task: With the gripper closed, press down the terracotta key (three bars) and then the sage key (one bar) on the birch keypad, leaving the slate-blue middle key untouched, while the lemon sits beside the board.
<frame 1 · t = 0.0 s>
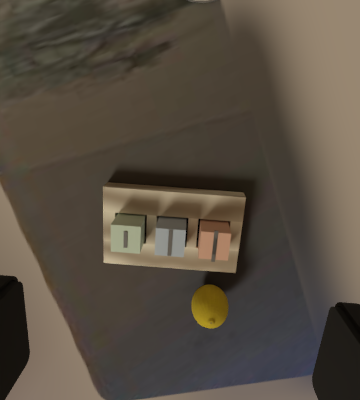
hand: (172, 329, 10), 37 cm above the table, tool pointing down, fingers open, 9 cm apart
key terracotta: (213, 239, 44), point 4 cm above the table, slide at 0.0 cm
key slate: (171, 236, 44), point 4 cm above the table, slide at 0.0 cm
key sage: (128, 232, 45), point 4 cm above the table, slide at 0.0 cm
keypad board: (172, 224, 48), on the table
lemon: (208, 289, 52), on the table
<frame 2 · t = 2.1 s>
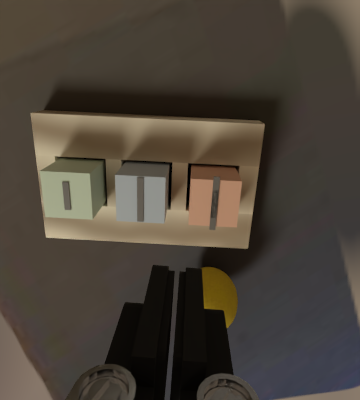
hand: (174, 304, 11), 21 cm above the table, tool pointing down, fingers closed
key terracotta: (212, 194, 27), point 4 cm above the table, slide at 0.0 cm
key slate: (144, 191, 28), point 4 cm above the table, slide at 0.0 cm
key sage: (75, 187, 28), point 4 cm above the table, slide at 0.0 cm
keypad board: (150, 177, 31), on the table
lemon: (207, 273, 35), on the table
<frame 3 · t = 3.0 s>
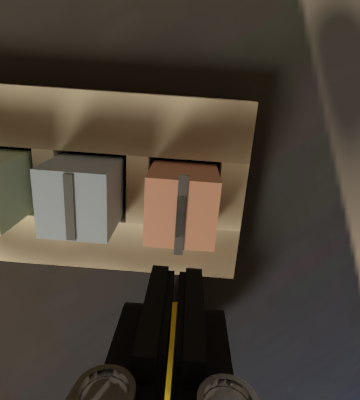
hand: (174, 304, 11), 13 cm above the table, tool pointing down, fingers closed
key terracotta: (182, 202, 19), point 4 cm above the table, slide at 0.0 cm
key slate: (82, 195, 19), point 4 cm above the table, slide at 0.0 cm
keypad board: (101, 177, 23), on the table
lemon: (180, 308, 27), on the table
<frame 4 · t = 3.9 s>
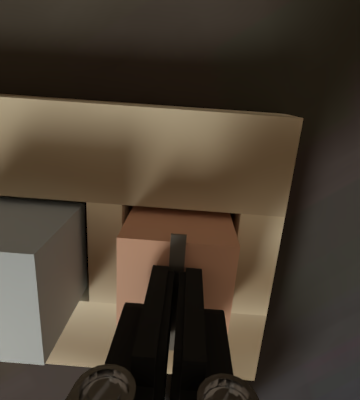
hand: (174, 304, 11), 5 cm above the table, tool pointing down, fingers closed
key terracotta: (177, 262, 13), point 3 cm above the table, slide at -1.5 cm, touching gripper
key slate: (12, 270, 12), point 4 cm above the table, slide at 0.0 cm
keypad board: (57, 226, 15), on the table
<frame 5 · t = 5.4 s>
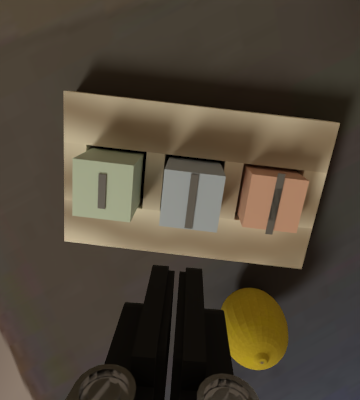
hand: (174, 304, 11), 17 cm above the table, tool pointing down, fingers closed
key terracotta: (268, 195, 25), point 2 cm above the table, slide at -1.6 cm
key slate: (191, 192, 23), point 4 cm above the table, slide at 0.0 cm
key sage: (110, 182, 23), point 4 cm above the table, slide at 0.0 cm
keypad board: (191, 178, 27), on the table
lemon: (244, 295, 31), on the table
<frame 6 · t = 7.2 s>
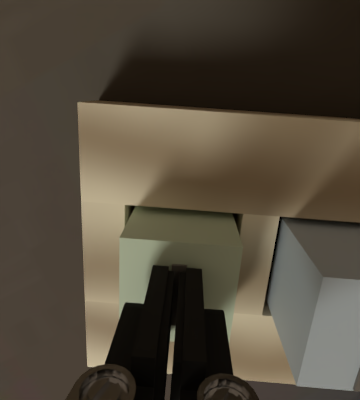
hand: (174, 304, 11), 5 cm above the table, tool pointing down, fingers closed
key slate: (344, 296, 11), point 4 cm above the table, slide at 0.0 cm
key sage: (179, 263, 13), point 3 cm above the table, slide at -1.4 cm, touching gripper
keypad board: (306, 245, 15), on the table
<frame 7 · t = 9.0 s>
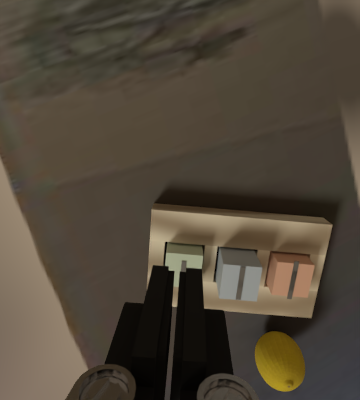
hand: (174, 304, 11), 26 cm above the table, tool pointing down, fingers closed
key terracotta: (286, 270, 36), point 2 cm above the table, slide at -1.6 cm
key slate: (237, 273, 35), point 4 cm above the table, slide at 0.0 cm
key sage: (183, 261, 36), point 2 cm above the table, slide at -1.6 cm
keypad board: (232, 256, 39), on the table
lemon: (270, 335, 42), on the table
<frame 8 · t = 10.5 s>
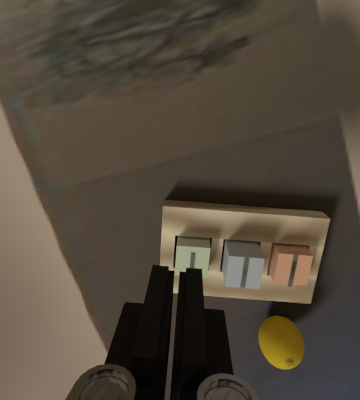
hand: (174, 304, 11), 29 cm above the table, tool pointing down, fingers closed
key terracotta: (287, 260, 40), point 2 cm above the table, slide at -1.6 cm
key slate: (241, 263, 38), point 4 cm above the table, slide at 0.0 cm
key sage: (192, 253, 40), point 2 cm above the table, slide at -1.6 cm
keypad board: (237, 248, 42), on the table
lemon: (272, 319, 46), on the table
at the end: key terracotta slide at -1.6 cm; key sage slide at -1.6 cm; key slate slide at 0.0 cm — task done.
